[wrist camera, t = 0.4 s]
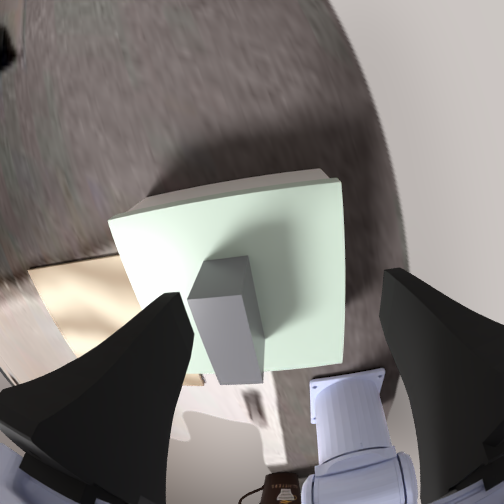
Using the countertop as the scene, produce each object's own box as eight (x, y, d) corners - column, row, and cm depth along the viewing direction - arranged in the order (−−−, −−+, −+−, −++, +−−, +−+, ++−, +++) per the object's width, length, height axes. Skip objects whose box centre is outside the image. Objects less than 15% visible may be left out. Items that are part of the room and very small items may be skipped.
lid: (337, 341, 20) (350, 402, 15) (181, 353, 21) (162, 409, 16) (331, 173, 14) (363, 203, 9) (124, 207, 16) (72, 248, 11)
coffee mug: (312, 474, 41) (313, 516, 32) (284, 483, 45) (283, 521, 36) (264, 465, 39) (262, 513, 30) (238, 474, 42) (234, 516, 33)
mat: (204, 383, 27) (203, 385, 27) (91, 375, 30) (90, 376, 29) (149, 249, 21) (148, 251, 20) (29, 269, 23) (27, 270, 22)
